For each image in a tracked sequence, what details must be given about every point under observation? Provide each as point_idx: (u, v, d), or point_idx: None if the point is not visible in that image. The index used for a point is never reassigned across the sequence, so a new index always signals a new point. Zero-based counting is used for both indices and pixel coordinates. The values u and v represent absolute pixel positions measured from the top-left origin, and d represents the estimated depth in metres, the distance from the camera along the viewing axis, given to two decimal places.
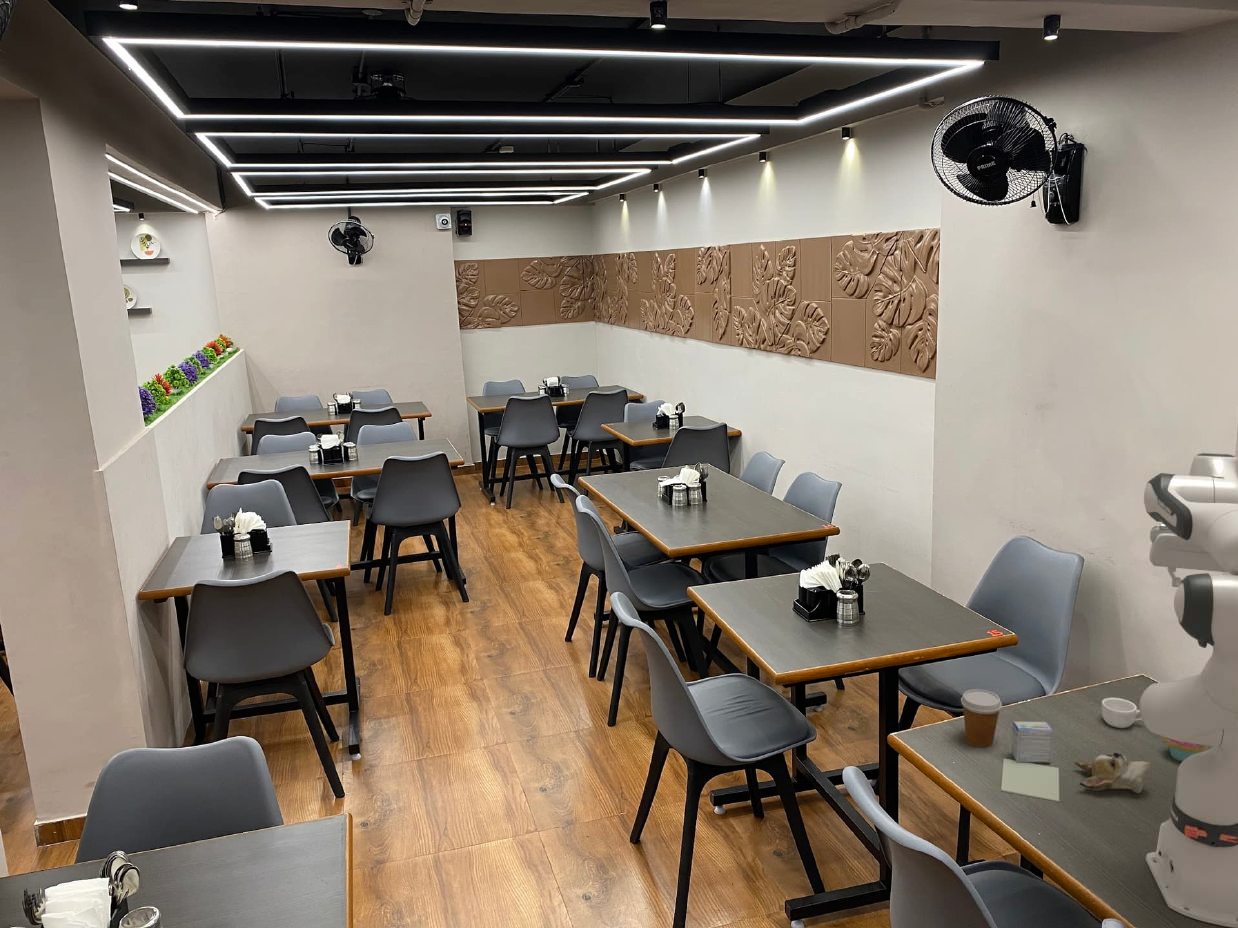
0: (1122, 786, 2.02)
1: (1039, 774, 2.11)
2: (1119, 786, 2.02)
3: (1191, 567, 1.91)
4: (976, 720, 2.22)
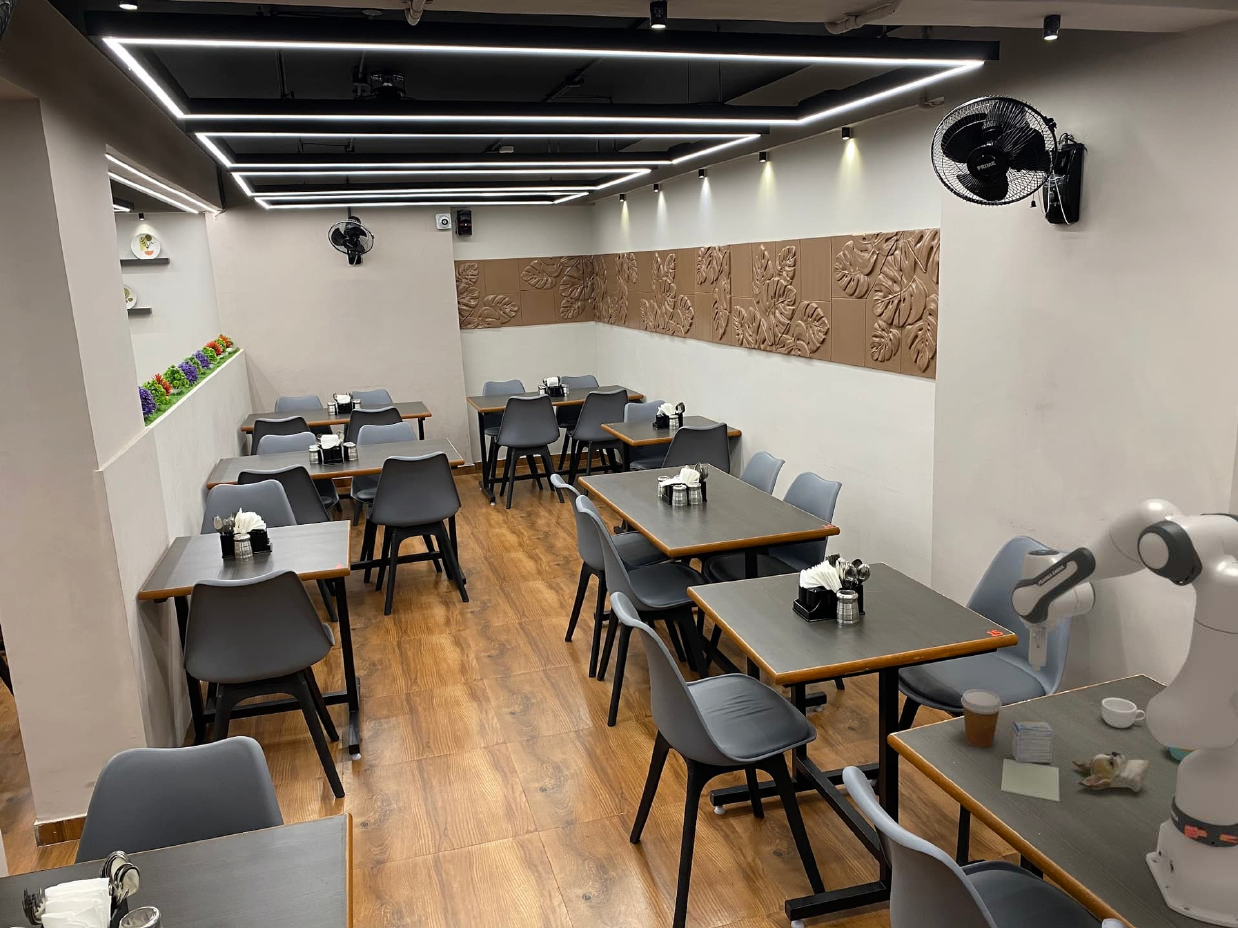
0: (1121, 785, 2.02)
1: (1039, 774, 2.11)
2: (1118, 785, 2.02)
3: None
4: (976, 720, 2.22)
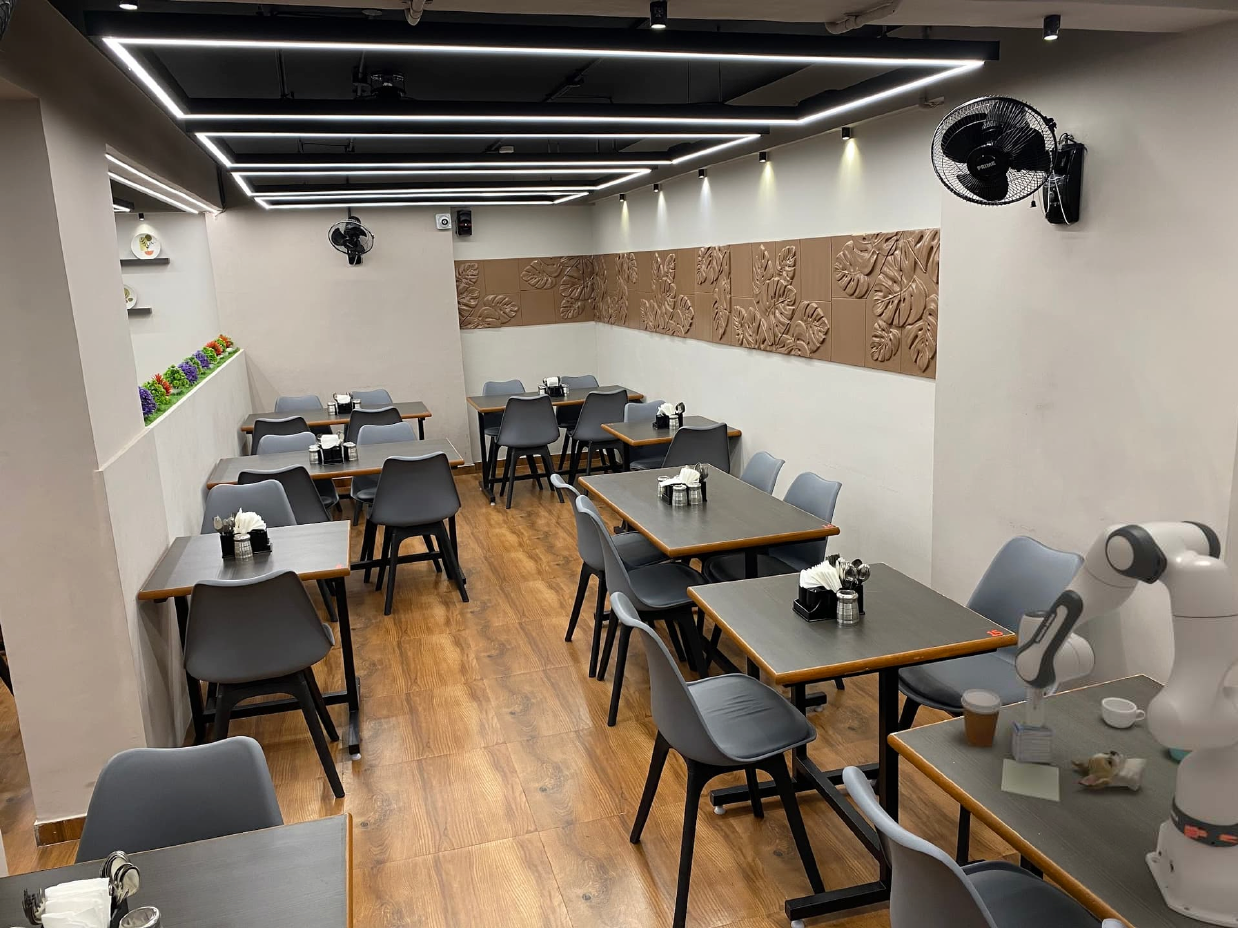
0: (1119, 784, 2.03)
1: (1039, 774, 2.11)
2: (1116, 784, 2.03)
3: None
4: (976, 720, 2.22)
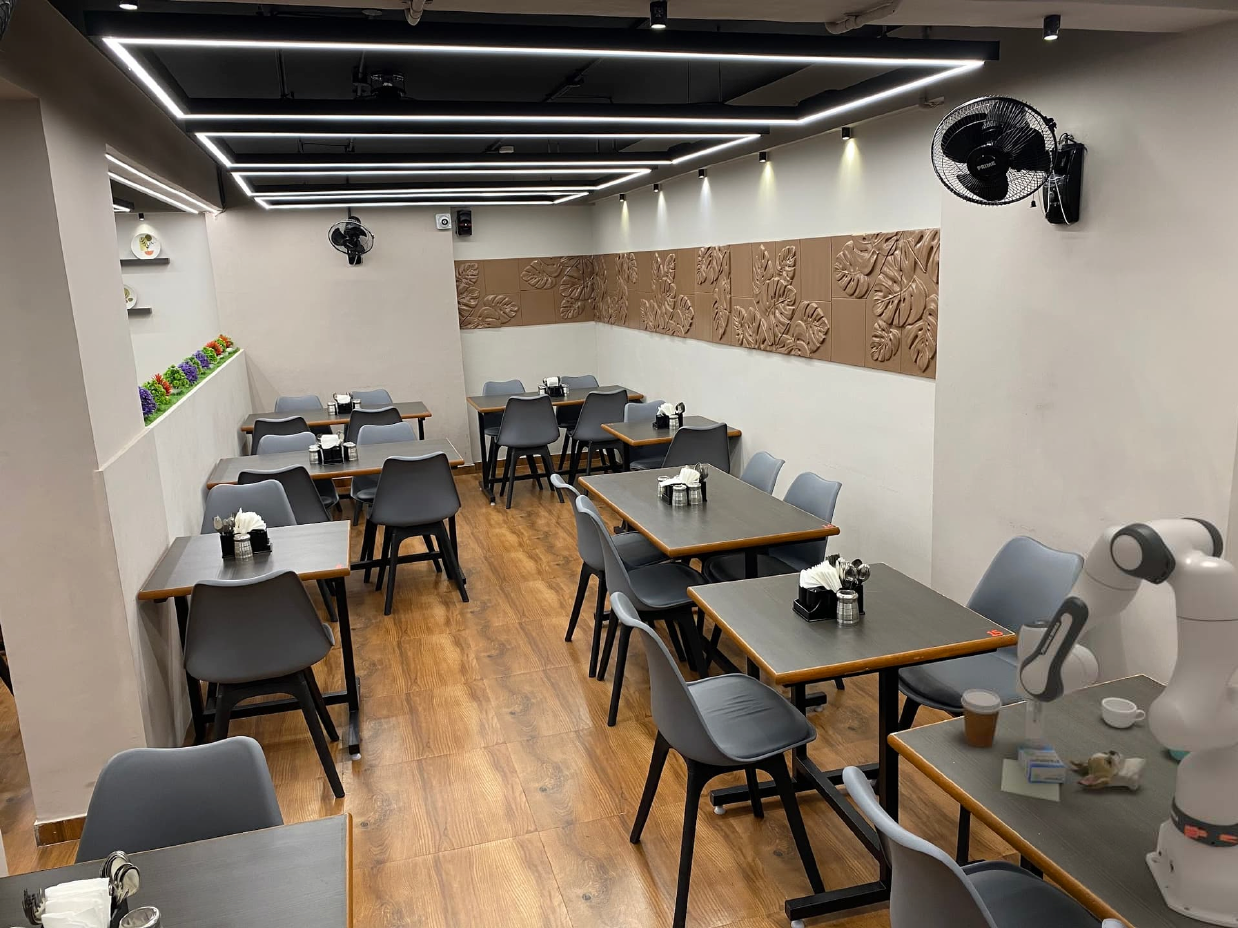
0: (1119, 783, 2.03)
1: None
2: (1116, 784, 2.03)
3: None
4: (976, 720, 2.22)
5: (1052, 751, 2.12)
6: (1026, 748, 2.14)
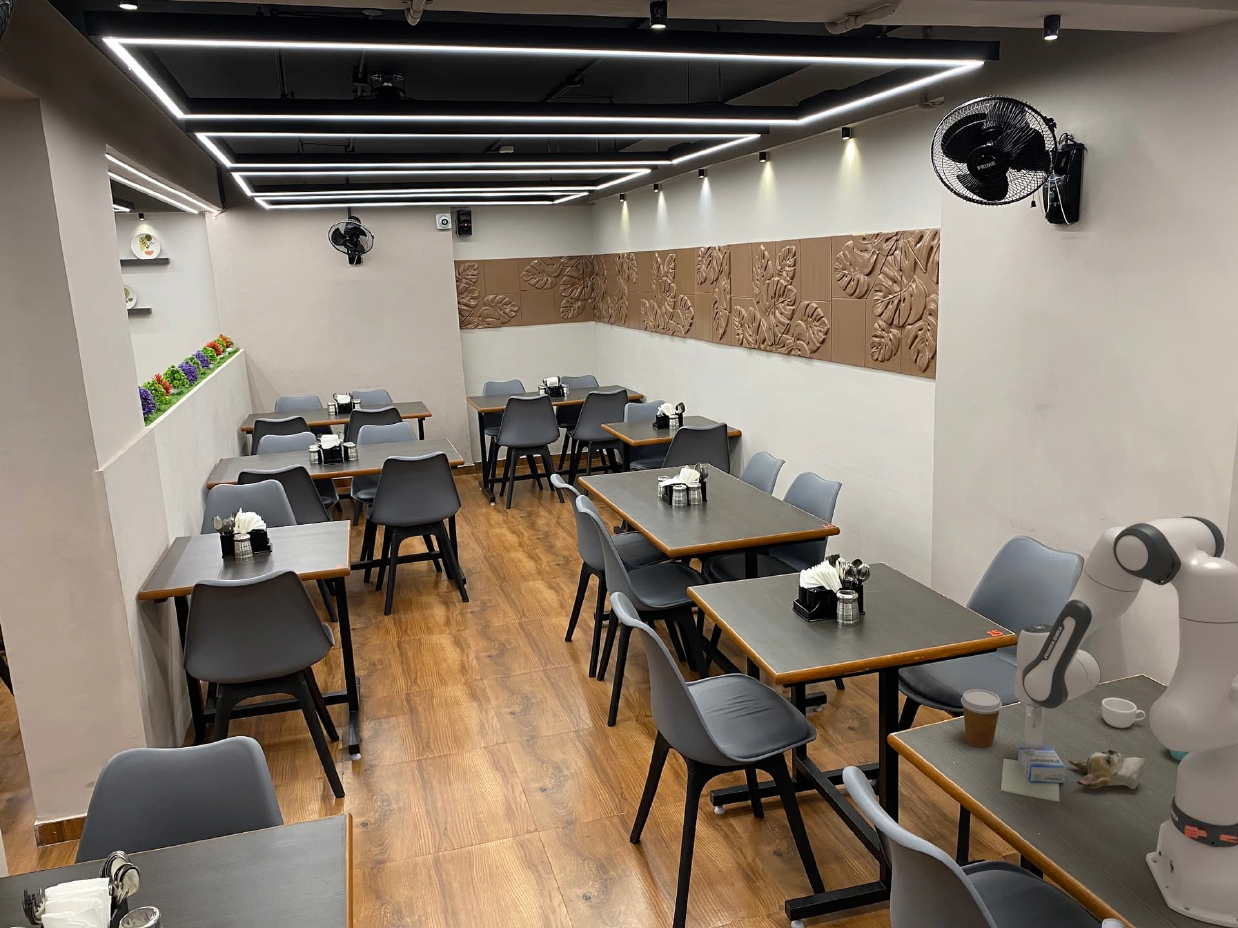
0: (1118, 783, 2.03)
1: None
2: (1115, 783, 2.03)
3: None
4: (976, 720, 2.22)
5: (1052, 751, 2.12)
6: (1026, 748, 2.14)
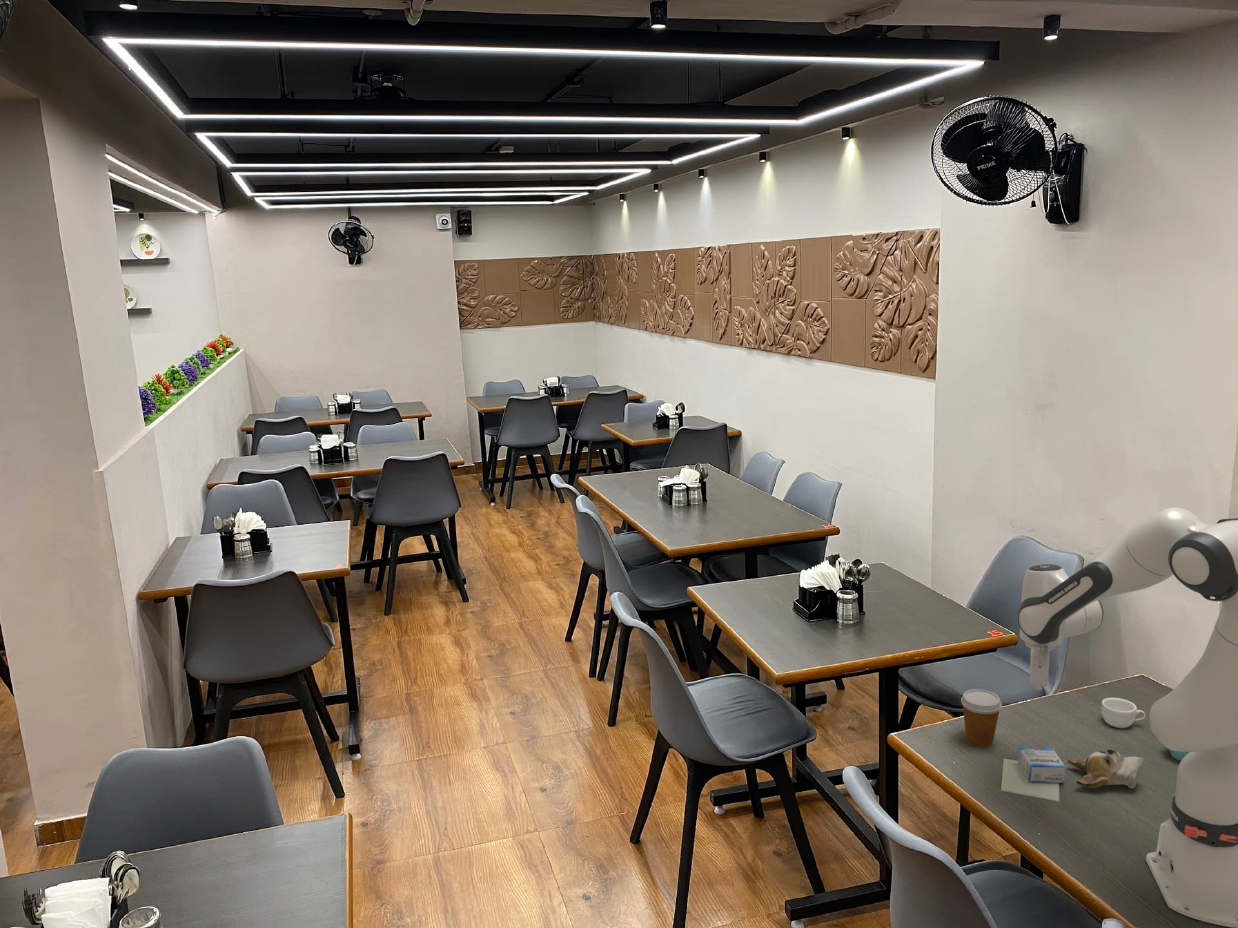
0: (1117, 782, 2.03)
1: None
2: (1114, 782, 2.03)
3: None
4: (976, 720, 2.22)
5: (1052, 751, 2.12)
6: (1026, 748, 2.14)
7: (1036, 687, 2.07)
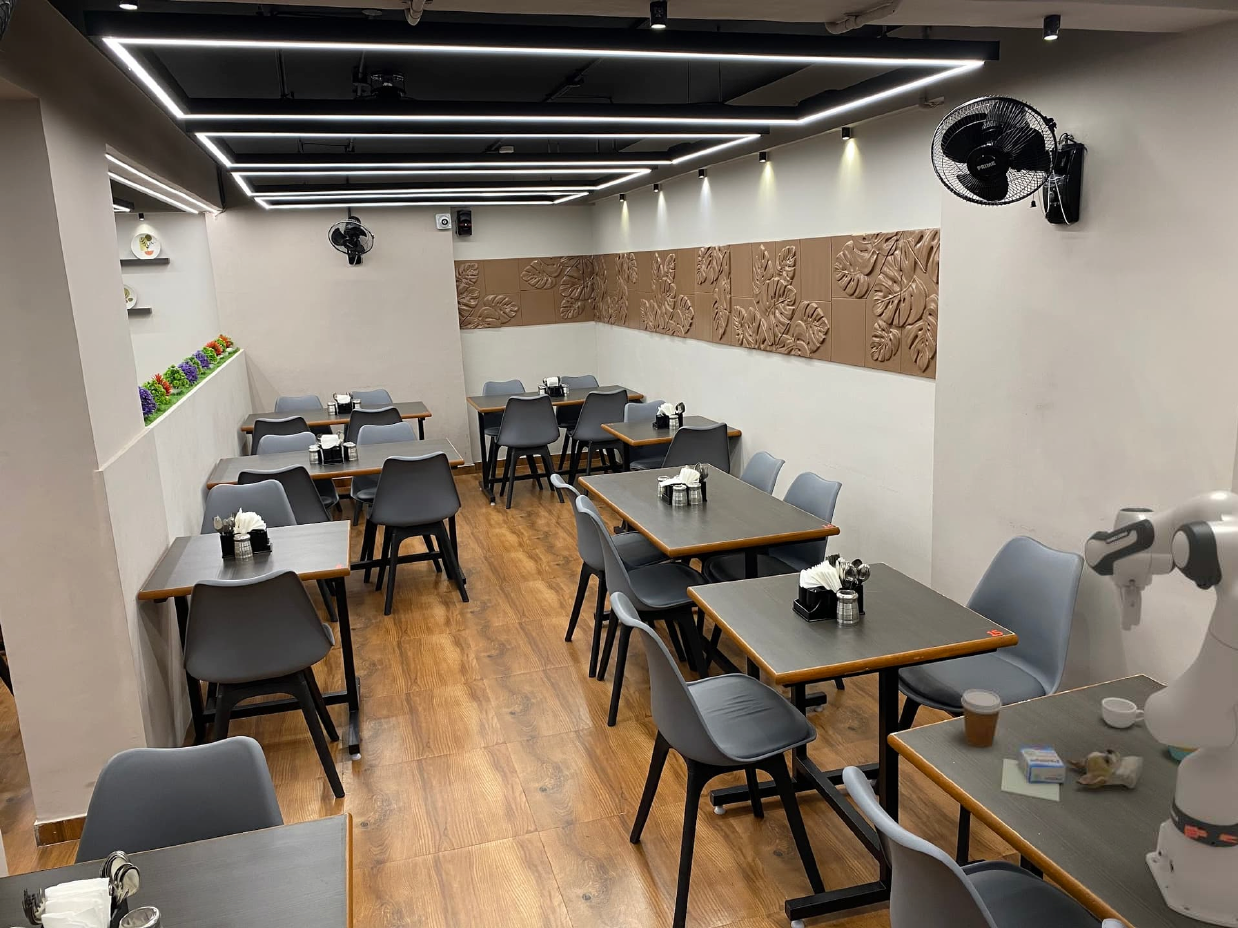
0: (1116, 782, 2.03)
1: None
2: (1113, 782, 2.03)
3: None
4: (977, 720, 2.22)
5: (1052, 751, 2.12)
6: (1026, 748, 2.14)
7: (1125, 628, 2.13)
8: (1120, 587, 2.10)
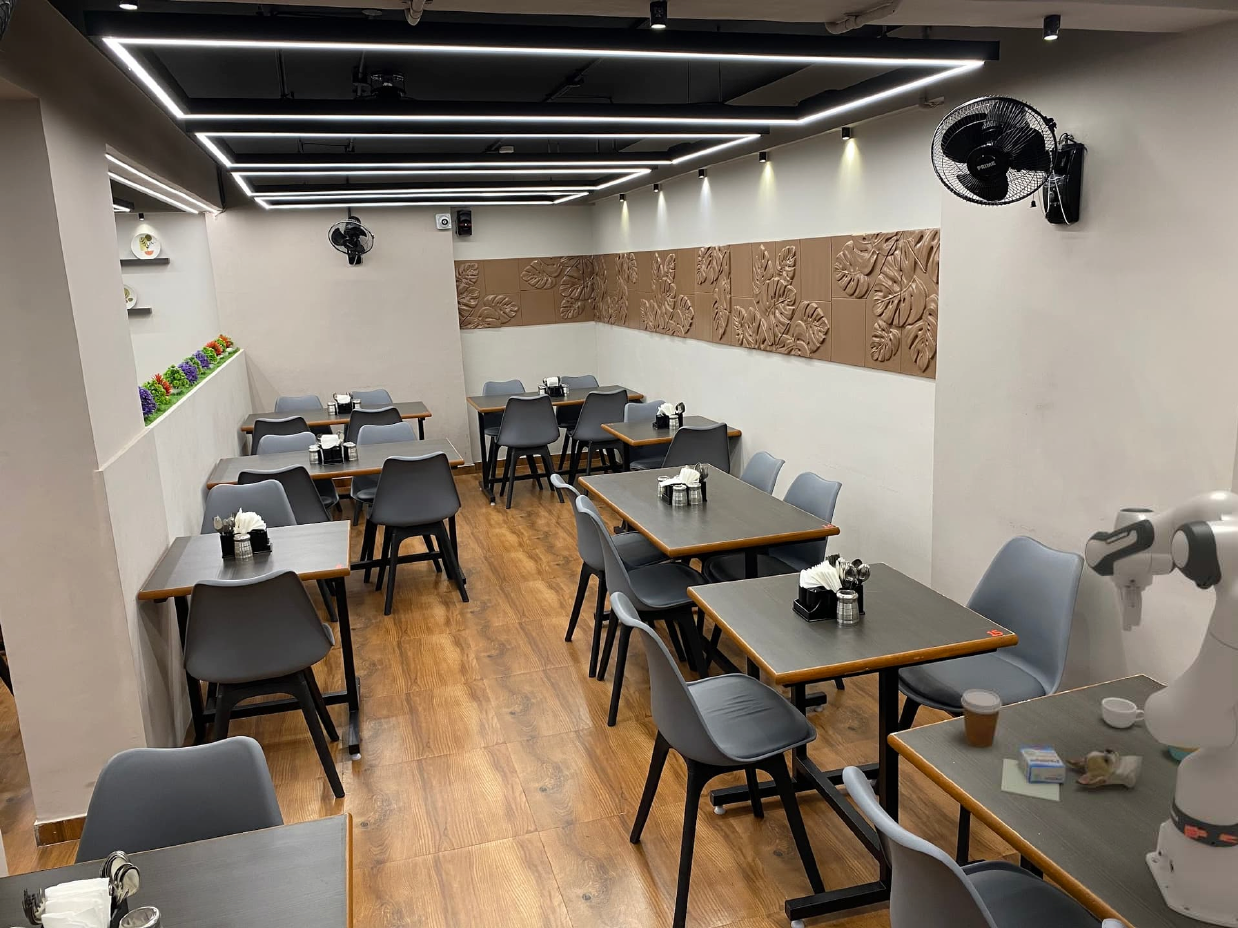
0: (1116, 782, 2.04)
1: None
2: (1113, 782, 2.04)
3: None
4: (976, 720, 2.22)
5: (1052, 751, 2.12)
6: (1026, 748, 2.14)
7: (1125, 628, 2.13)
8: (1120, 587, 2.10)
